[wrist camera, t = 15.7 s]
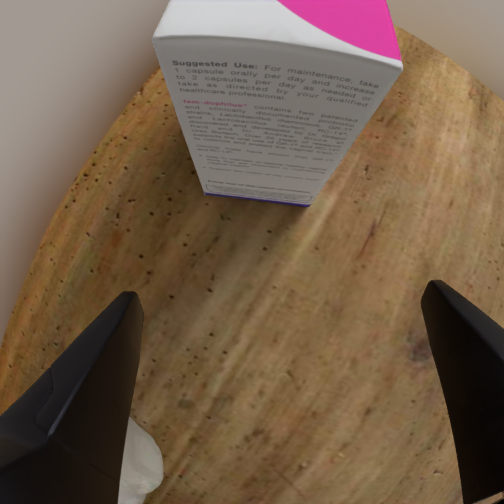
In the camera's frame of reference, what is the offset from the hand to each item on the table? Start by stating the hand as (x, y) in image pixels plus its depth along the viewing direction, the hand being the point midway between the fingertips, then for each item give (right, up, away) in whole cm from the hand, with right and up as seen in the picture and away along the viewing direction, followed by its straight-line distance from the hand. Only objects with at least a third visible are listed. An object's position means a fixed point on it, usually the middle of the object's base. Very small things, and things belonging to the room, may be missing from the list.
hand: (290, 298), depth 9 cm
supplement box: (0, +7, +8) cm, 11 cm away
